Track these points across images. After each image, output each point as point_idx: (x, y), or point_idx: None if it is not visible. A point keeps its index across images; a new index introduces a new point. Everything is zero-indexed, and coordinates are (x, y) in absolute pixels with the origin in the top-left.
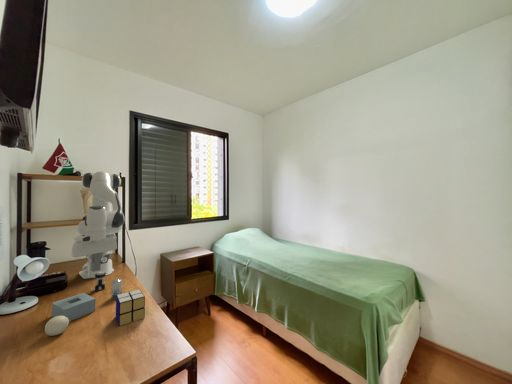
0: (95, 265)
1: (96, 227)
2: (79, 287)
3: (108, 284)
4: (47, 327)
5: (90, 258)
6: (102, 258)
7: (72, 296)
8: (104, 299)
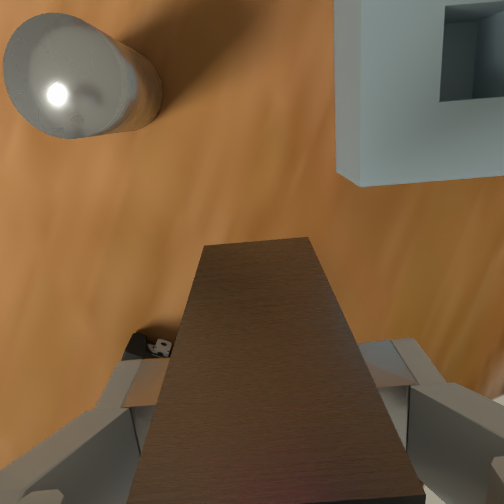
0: (291, 277)
1: None
2: None
3: (85, 398)
4: None
5: (462, 410)
6: (111, 389)
7: (446, 177)
8: (204, 132)
